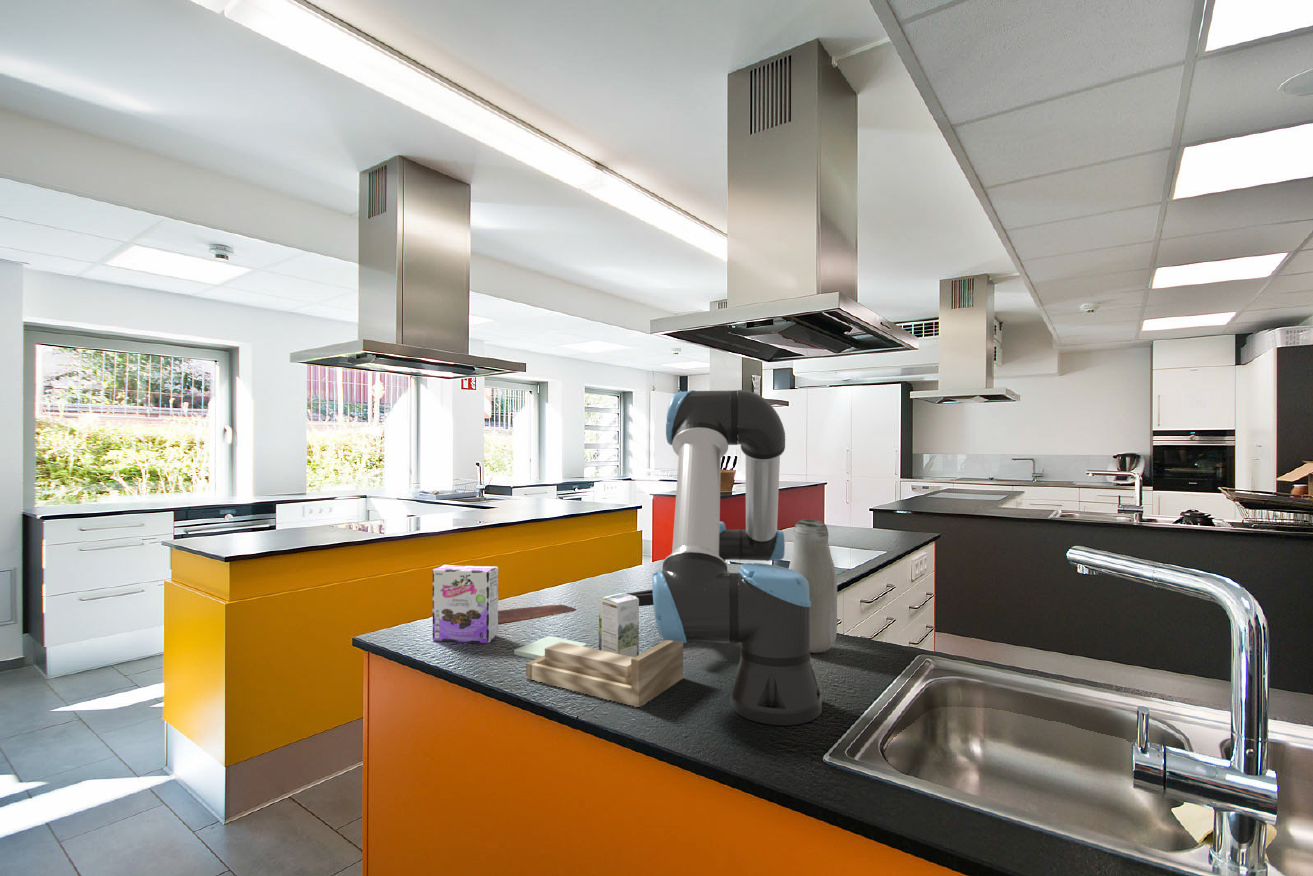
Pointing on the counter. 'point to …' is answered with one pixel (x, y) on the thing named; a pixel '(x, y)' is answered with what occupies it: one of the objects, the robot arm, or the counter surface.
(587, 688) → the birch rack
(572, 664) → the offcut stack
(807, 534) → the glass bottle
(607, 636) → the syrup box
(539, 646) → the sage mat
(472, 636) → the candy box
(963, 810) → the counter surface
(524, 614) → the wooden tablet
